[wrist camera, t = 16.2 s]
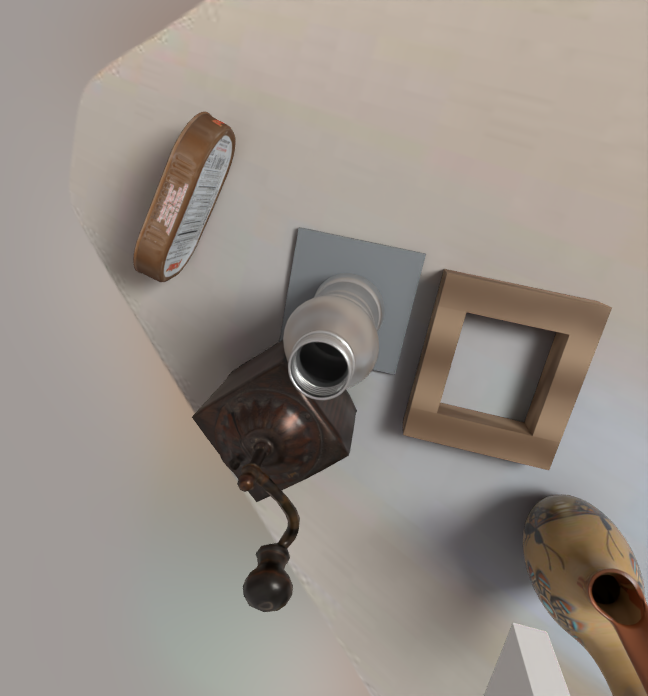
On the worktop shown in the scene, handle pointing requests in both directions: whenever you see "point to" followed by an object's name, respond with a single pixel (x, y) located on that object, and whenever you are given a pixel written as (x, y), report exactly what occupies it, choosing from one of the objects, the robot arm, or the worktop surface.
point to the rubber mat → (369, 262)
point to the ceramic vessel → (591, 587)
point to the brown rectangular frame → (554, 385)
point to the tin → (184, 197)
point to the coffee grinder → (274, 451)
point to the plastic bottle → (334, 336)
